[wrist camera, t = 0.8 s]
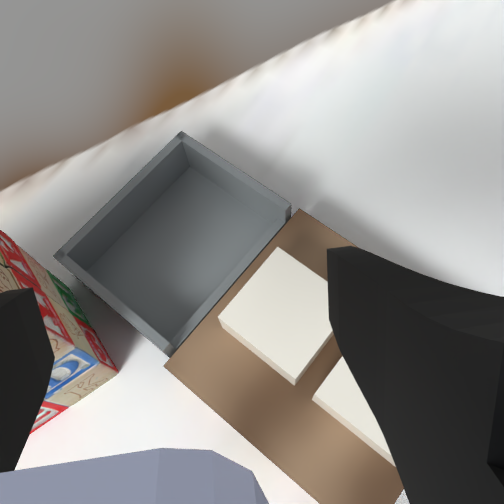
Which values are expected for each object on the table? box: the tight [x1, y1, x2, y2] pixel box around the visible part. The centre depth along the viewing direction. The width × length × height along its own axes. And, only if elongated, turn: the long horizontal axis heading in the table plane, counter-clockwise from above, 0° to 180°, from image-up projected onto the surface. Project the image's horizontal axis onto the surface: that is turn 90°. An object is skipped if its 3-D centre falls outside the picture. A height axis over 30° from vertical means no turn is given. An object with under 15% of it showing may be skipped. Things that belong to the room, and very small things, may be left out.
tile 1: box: [312, 356, 396, 467], centre depth 21 cm, size 4×4×2 cm
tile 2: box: [218, 247, 334, 386], centre depth 23 cm, size 4×4×2 cm
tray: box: [53, 131, 291, 358], centre depth 26 cm, size 8×10×3 cm
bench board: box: [164, 208, 404, 504], centre depth 24 cm, size 12×11×2 cm
